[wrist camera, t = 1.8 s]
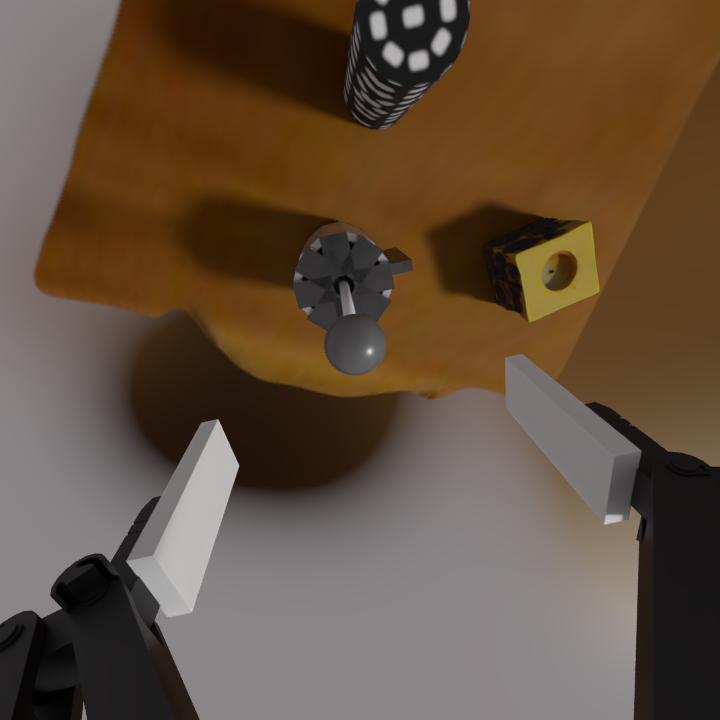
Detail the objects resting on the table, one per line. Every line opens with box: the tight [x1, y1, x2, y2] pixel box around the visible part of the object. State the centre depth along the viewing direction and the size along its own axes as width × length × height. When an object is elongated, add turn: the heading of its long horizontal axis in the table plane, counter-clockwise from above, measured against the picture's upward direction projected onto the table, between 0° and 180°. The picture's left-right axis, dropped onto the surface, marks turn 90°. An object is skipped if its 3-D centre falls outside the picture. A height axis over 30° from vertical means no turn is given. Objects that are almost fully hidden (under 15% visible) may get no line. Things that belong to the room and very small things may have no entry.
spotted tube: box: [344, 0, 470, 130], centre depth 35 cm, size 8×8×20 cm
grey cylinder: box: [292, 222, 413, 331], centre depth 45 cm, size 10×13×16 cm
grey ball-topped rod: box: [318, 242, 386, 376], centre depth 32 cm, size 8×8×24 cm
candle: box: [483, 218, 599, 322], centre depth 50 cm, size 10×10×10 cm
